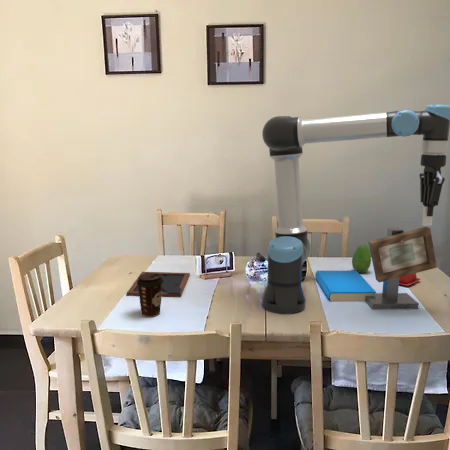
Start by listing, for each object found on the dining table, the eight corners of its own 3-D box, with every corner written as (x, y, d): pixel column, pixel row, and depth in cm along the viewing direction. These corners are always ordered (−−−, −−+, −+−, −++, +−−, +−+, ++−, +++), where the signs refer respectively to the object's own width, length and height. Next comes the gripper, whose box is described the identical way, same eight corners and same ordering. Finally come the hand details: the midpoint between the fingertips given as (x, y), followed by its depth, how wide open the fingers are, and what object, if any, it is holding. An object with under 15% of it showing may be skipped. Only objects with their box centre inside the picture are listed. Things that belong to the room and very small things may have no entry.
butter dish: (380, 281, 192) (382, 261, 190) (395, 275, 200) (397, 256, 198) (407, 288, 184) (409, 267, 182) (421, 282, 191) (423, 262, 189)
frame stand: (372, 309, 163) (378, 232, 157) (362, 298, 173) (368, 226, 167) (418, 308, 164) (425, 232, 158) (406, 298, 173) (413, 226, 167)
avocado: (372, 275, 199) (374, 247, 197) (353, 274, 199) (355, 247, 197) (367, 269, 207) (369, 242, 205) (349, 269, 207) (350, 242, 205)
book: (356, 270, 194) (377, 291, 170) (355, 280, 195) (376, 302, 170) (314, 270, 194) (329, 291, 169) (314, 280, 195) (328, 302, 170)
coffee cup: (165, 308, 162) (164, 272, 160) (163, 318, 154) (162, 280, 152) (139, 308, 162) (138, 272, 159) (136, 318, 154) (134, 280, 151)
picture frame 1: (180, 299, 173) (189, 276, 197) (180, 293, 173) (189, 272, 197) (126, 297, 174) (142, 275, 198) (126, 292, 174) (142, 271, 198)
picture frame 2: (379, 283, 160) (372, 244, 157) (376, 279, 163) (368, 241, 160) (437, 268, 159) (431, 228, 156) (432, 265, 163) (426, 226, 160)
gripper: (455, 155, 147) (447, 229, 152) (435, 152, 160) (428, 221, 165) (431, 155, 147) (424, 229, 152) (413, 152, 159) (407, 221, 164)
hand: (426, 225), depth 158 cm, fingers closed
